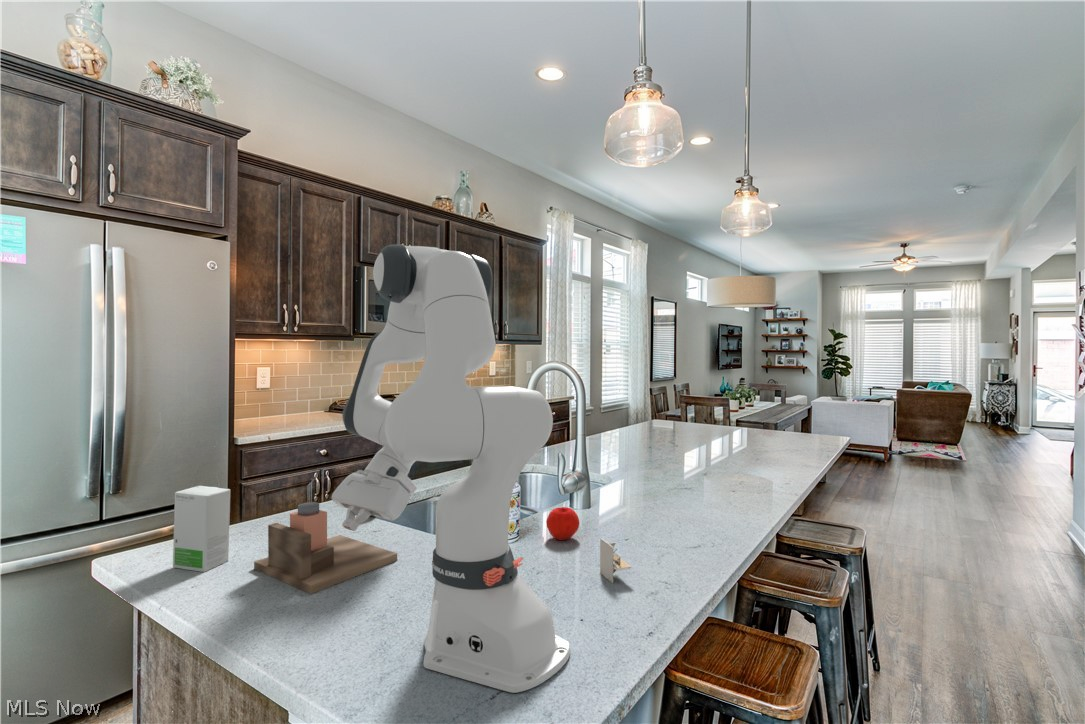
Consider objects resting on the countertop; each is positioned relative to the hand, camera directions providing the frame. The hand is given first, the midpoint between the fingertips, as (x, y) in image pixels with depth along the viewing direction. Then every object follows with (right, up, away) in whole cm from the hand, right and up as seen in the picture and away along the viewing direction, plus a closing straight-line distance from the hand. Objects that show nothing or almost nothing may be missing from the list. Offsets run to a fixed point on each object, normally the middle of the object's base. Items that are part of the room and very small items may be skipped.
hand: (348, 528), depth 119 cm
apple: (+47, -6, +12) cm, 49 cm away
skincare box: (-29, -6, -4) cm, 30 cm away
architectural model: (+55, -7, -10) cm, 57 cm away
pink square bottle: (-5, -4, -8) cm, 10 cm away
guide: (-3, -6, -4) cm, 8 cm away
